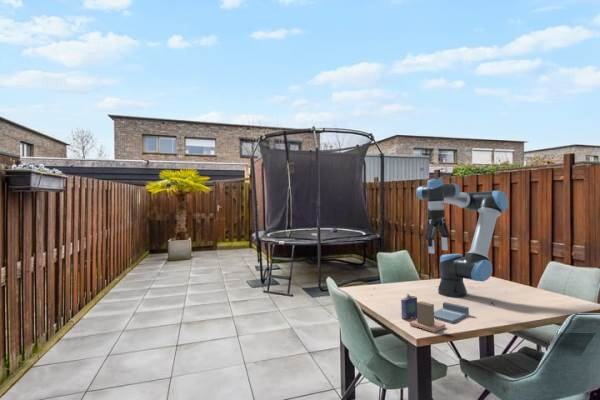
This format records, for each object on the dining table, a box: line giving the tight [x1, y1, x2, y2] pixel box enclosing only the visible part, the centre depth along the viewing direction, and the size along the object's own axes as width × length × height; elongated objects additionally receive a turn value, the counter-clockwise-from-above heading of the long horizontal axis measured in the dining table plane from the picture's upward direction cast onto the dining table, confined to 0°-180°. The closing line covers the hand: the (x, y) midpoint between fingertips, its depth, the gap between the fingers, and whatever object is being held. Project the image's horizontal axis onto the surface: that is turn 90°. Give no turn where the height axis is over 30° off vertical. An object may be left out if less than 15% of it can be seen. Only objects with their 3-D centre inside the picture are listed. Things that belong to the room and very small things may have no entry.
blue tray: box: [434, 301, 470, 324], centre depth 141 cm, size 11×16×4 cm
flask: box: [400, 293, 418, 320], centre depth 141 cm, size 9×3×11 cm, turn 117°
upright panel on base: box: [409, 301, 446, 333], centre depth 129 cm, size 11×9×10 cm
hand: (438, 251), depth 153 cm, fingers open, 13 cm apart
